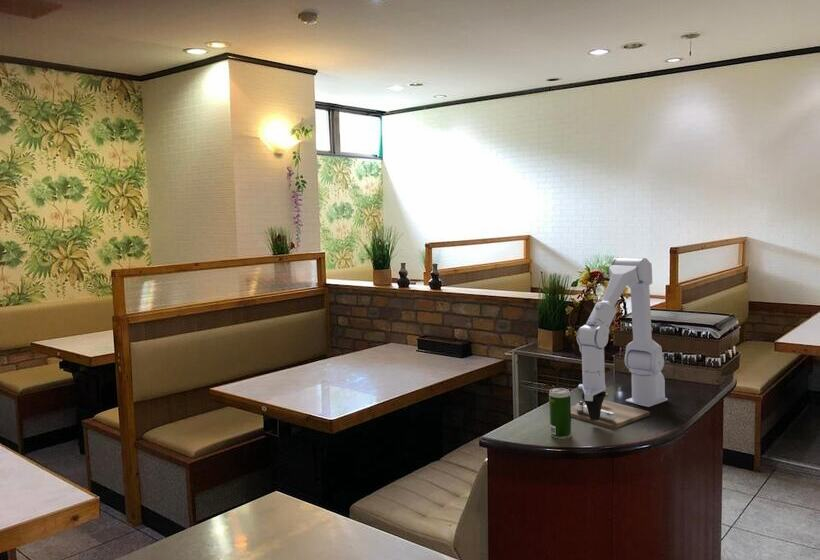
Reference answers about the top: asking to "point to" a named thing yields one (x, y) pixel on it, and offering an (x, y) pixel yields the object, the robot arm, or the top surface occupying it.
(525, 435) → the top surface
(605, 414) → the steel link
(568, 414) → the beer can
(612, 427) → the board
